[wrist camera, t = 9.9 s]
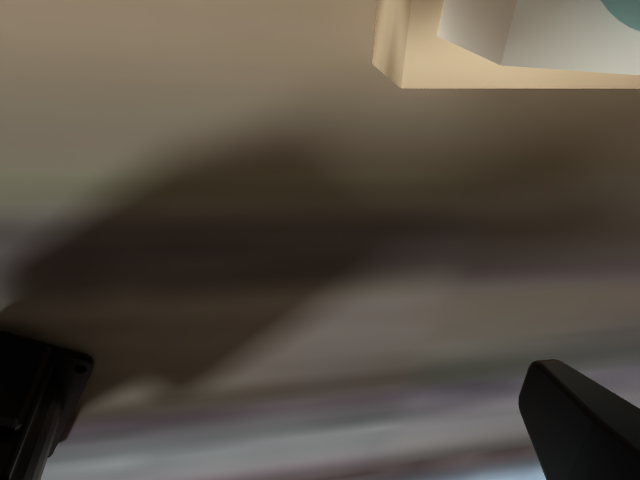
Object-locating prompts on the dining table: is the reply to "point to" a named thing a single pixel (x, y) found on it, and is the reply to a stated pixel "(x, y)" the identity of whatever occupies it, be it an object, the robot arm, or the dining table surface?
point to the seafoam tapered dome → (625, 11)
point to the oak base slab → (460, 57)
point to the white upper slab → (543, 34)
